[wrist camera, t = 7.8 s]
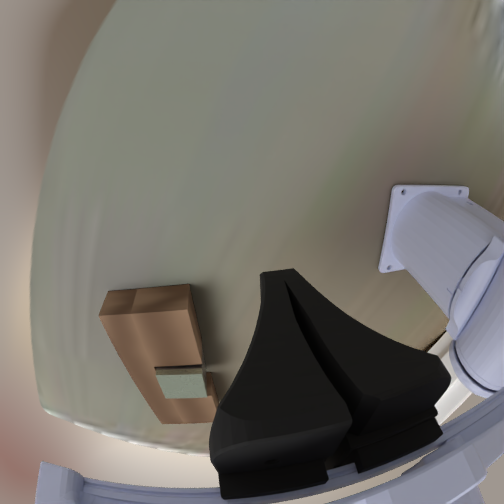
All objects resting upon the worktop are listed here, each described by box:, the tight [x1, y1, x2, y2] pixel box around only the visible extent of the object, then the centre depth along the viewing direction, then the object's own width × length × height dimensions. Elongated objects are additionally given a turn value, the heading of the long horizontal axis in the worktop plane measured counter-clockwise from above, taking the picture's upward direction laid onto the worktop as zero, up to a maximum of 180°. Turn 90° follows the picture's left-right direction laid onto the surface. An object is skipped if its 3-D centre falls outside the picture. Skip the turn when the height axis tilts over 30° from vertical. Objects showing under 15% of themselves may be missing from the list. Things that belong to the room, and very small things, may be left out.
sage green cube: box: [155, 347, 207, 399], centre depth 25 cm, size 4×4×4 cm
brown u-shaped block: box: [99, 284, 219, 424], centre depth 25 cm, size 7×18×3 cm, turn 3°
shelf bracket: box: [427, 331, 472, 425], centre depth 30 cm, size 6×25×13 cm, turn 123°
